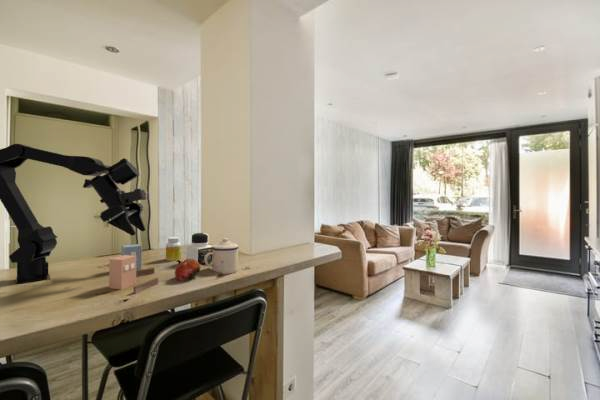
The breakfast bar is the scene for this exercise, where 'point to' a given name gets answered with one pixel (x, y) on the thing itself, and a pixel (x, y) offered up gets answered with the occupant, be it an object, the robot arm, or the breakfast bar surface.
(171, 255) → the supplement bottle
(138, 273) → the plinth
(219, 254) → the teacup with lid
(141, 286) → the plinth
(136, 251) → the blue block
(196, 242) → the medicine bottle
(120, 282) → the pink box
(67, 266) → the breakfast bar surface
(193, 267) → the pomegranate
